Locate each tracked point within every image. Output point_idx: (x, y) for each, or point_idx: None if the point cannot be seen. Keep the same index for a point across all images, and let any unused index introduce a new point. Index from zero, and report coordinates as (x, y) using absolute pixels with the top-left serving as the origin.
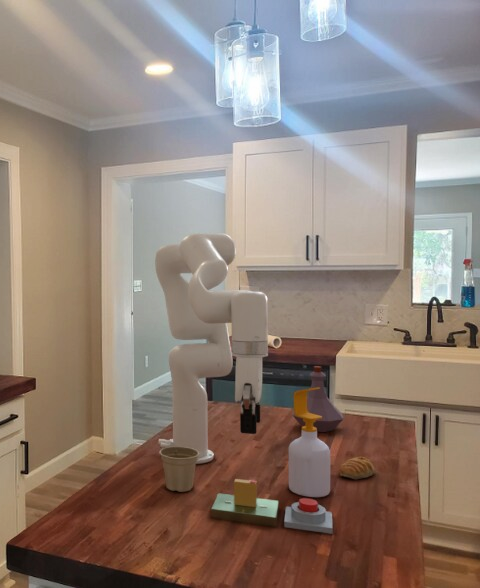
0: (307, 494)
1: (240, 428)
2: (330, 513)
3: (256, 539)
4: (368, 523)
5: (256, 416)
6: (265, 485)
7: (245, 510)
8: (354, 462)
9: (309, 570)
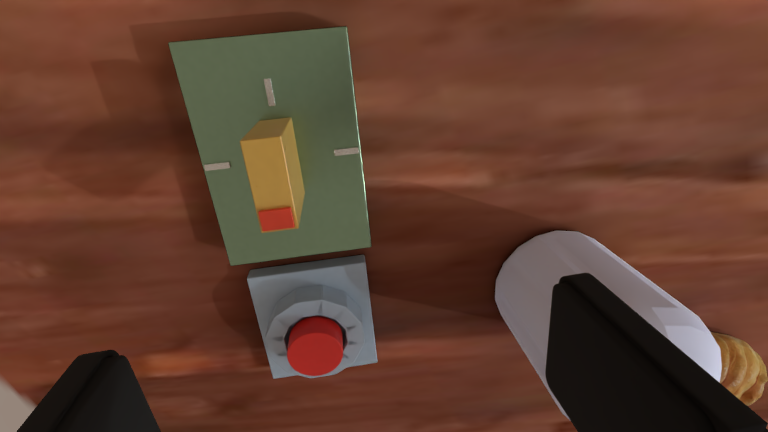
0: (497, 289)
1: (57, 382)
2: (366, 362)
3: (118, 220)
4: (379, 413)
5: (576, 407)
6: (562, 157)
7: (228, 170)
8: None
9: (39, 358)
